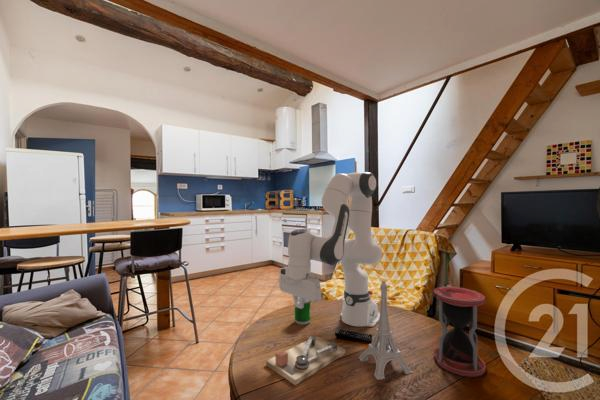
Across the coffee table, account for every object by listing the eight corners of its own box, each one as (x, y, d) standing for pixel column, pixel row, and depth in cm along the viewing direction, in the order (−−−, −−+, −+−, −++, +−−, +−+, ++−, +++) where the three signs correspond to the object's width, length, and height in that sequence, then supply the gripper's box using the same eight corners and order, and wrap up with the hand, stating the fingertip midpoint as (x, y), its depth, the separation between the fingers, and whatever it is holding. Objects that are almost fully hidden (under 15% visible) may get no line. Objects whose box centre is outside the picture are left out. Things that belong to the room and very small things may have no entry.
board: (315, 339, 116) (315, 335, 116) (345, 353, 106) (345, 349, 106) (266, 365, 98) (266, 360, 98) (295, 385, 87) (295, 379, 87)
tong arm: (306, 369, 93) (306, 362, 93) (295, 367, 94) (294, 360, 94) (316, 342, 111) (316, 336, 111) (306, 340, 112) (306, 335, 112)
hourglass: (460, 348, 109) (459, 284, 109) (497, 373, 93) (497, 298, 93) (424, 353, 106) (423, 287, 106) (456, 380, 90) (455, 302, 90)
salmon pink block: (282, 359, 98) (282, 349, 98) (287, 363, 96) (287, 353, 96) (275, 363, 96) (275, 353, 96) (281, 366, 94) (281, 356, 94)
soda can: (309, 326, 129) (309, 300, 129) (293, 324, 130) (293, 299, 130) (311, 319, 136) (311, 295, 136) (296, 318, 138) (296, 294, 138)
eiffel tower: (377, 380, 90) (377, 287, 90) (358, 358, 103) (357, 277, 103) (412, 373, 94) (412, 284, 94) (389, 352, 107) (389, 274, 107)
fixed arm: (300, 371, 92) (300, 364, 92) (292, 365, 96) (292, 358, 96) (340, 352, 103) (340, 346, 103) (331, 347, 107) (331, 341, 107)
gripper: (325, 275, 103) (325, 312, 102) (288, 266, 117) (288, 299, 117) (313, 278, 98) (313, 317, 98) (276, 268, 113) (276, 302, 113)
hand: (299, 307), depth 108 cm, fingers closed
